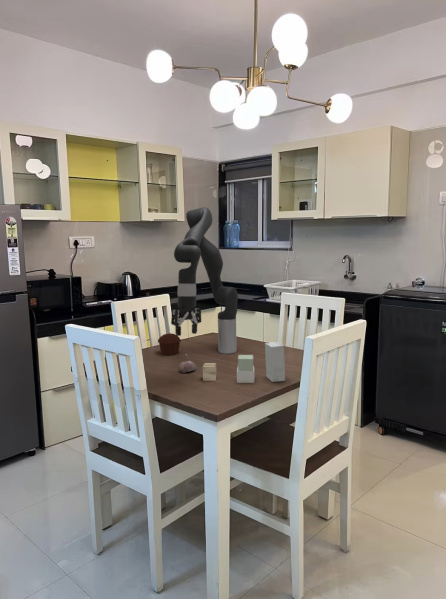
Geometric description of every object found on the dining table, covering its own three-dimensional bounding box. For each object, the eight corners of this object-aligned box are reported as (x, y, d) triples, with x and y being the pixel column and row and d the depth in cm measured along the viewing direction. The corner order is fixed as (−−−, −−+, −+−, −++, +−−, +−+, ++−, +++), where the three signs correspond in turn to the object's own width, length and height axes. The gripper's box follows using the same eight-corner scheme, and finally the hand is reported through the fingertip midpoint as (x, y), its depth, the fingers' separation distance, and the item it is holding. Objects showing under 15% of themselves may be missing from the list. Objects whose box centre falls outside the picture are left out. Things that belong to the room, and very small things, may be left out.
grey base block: (237, 377, 190) (237, 366, 189) (254, 377, 190) (254, 366, 189) (236, 383, 183) (236, 371, 183) (254, 383, 183) (254, 371, 182)
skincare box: (285, 381, 184) (285, 345, 182) (271, 382, 183) (271, 346, 180) (278, 375, 192) (278, 340, 190) (264, 376, 191) (264, 341, 188)
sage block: (238, 366, 189) (238, 354, 188) (253, 366, 188) (253, 355, 187) (238, 370, 183) (238, 358, 182) (253, 371, 182) (252, 359, 181)
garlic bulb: (180, 374, 195) (179, 356, 194) (178, 369, 202) (177, 352, 201) (197, 373, 197) (196, 355, 196) (195, 368, 204) (194, 351, 203)
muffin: (182, 350, 235) (181, 331, 233) (180, 356, 224) (180, 336, 223) (159, 350, 235) (158, 332, 233) (156, 356, 224) (156, 336, 222)
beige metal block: (204, 376, 191) (204, 363, 190) (216, 377, 191) (216, 363, 190) (203, 380, 186) (202, 366, 186) (215, 380, 186) (214, 366, 185)
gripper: (193, 293, 191) (193, 331, 192) (167, 294, 180) (166, 335, 182) (206, 294, 186) (205, 333, 187) (179, 295, 175) (179, 337, 177)
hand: (186, 334), depth 184 cm, fingers open, 8 cm apart
